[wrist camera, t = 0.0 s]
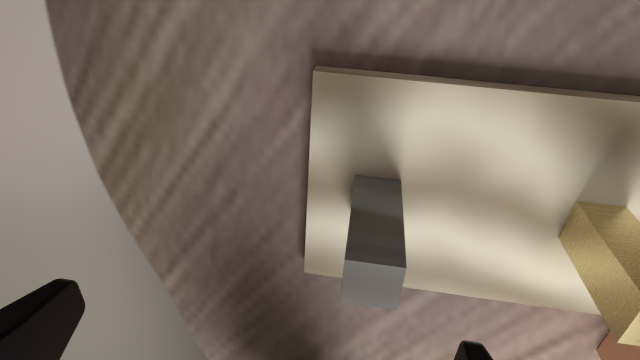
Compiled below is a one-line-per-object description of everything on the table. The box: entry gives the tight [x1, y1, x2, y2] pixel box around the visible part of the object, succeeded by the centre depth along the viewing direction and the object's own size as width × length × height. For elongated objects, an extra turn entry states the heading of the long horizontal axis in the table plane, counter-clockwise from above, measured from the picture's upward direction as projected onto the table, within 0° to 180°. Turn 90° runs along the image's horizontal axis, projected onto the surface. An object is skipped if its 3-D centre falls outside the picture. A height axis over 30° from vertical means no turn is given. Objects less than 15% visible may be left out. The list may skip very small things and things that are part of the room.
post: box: [558, 201, 640, 346], centre depth 19 cm, size 3×3×7 cm
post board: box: [304, 65, 640, 315], centre depth 20 cm, size 14×20×8 cm
